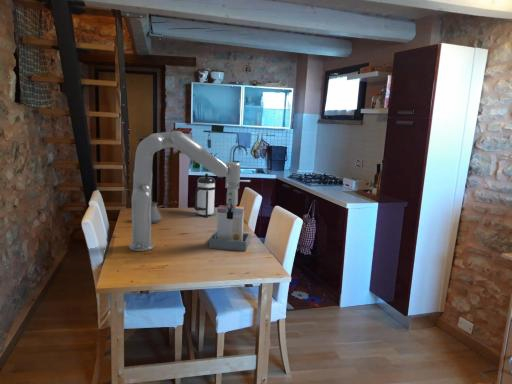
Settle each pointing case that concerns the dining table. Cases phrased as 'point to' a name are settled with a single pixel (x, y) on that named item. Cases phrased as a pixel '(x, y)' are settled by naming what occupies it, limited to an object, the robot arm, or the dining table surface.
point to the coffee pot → (156, 212)
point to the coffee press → (205, 196)
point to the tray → (229, 243)
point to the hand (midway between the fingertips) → (230, 217)
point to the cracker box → (230, 224)
